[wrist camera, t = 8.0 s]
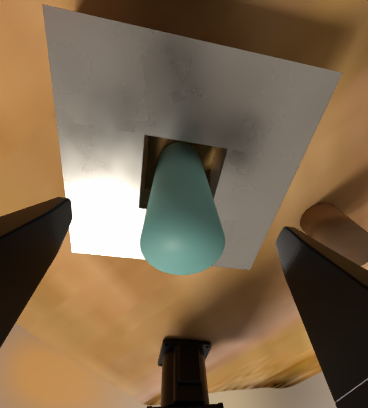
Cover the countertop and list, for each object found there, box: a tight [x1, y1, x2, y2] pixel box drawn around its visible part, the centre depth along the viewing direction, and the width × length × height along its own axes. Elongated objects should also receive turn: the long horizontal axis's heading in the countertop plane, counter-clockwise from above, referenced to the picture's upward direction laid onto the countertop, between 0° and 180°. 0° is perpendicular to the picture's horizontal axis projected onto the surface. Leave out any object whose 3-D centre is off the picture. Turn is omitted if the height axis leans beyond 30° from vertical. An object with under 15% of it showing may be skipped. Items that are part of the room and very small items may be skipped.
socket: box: [42, 4, 342, 270], centre depth 14 cm, size 14×14×3 cm
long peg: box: [140, 142, 225, 275], centre depth 12 cm, size 3×3×9 cm
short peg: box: [300, 203, 368, 266], centre depth 17 cm, size 3×3×4 cm
